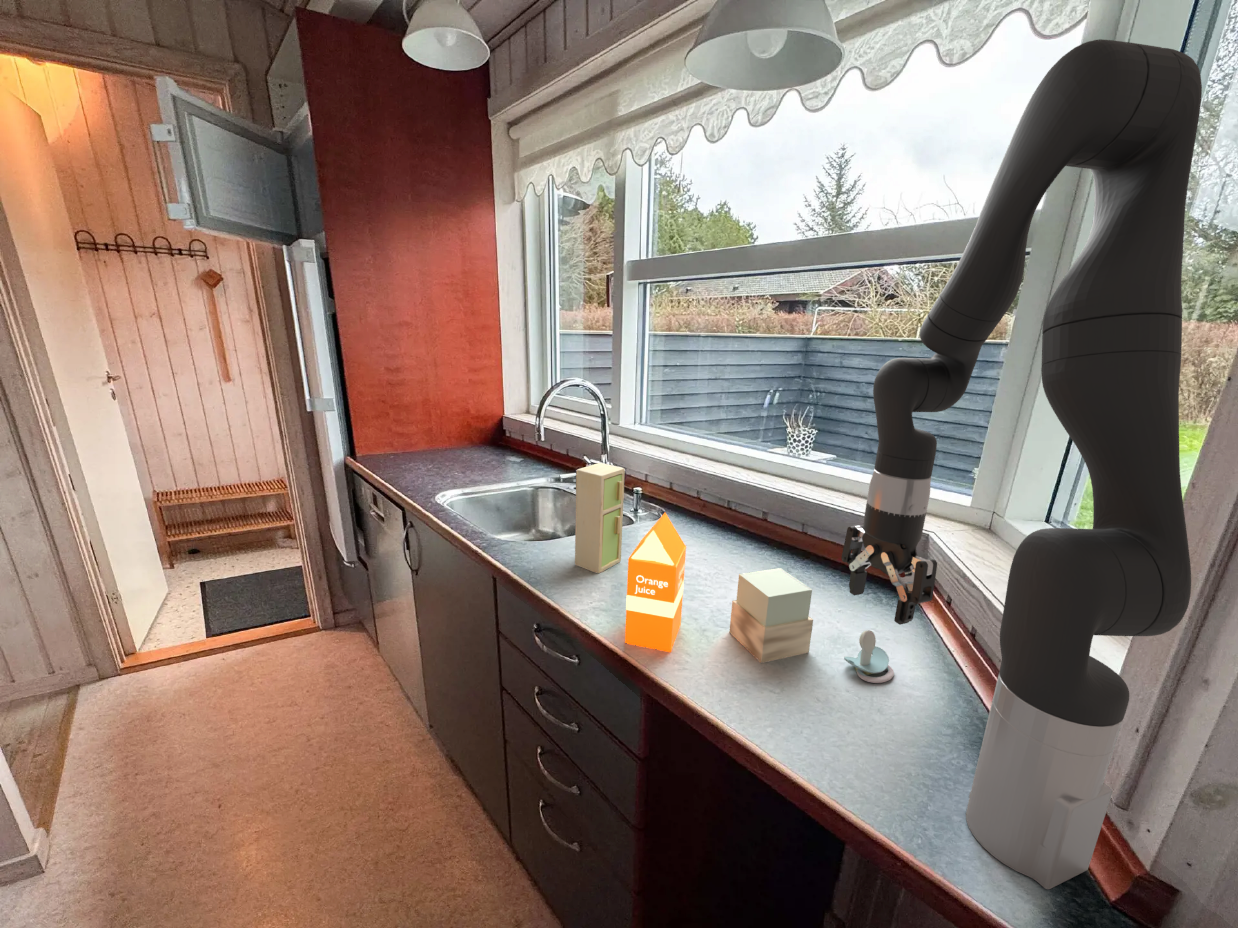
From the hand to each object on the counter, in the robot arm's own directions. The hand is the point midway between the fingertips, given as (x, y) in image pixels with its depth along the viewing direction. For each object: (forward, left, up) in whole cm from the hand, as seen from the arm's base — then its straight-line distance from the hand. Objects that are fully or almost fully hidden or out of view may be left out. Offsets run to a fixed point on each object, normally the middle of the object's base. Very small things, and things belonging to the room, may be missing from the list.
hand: (877, 607), depth 80 cm
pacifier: (-1, 0, -11) cm, 11 cm away
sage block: (+11, +10, -5) cm, 16 cm away
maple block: (+11, +10, -11) cm, 18 cm away
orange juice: (+19, +27, -11) cm, 35 cm away
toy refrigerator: (+47, +27, -11) cm, 55 cm away
